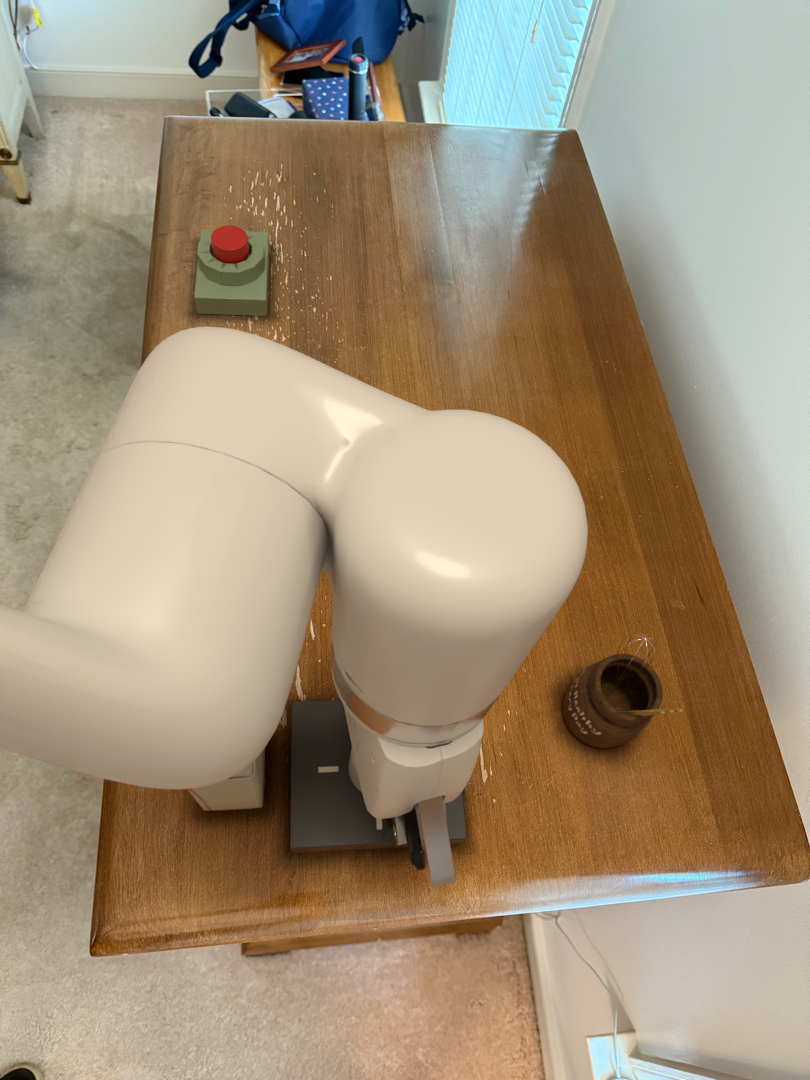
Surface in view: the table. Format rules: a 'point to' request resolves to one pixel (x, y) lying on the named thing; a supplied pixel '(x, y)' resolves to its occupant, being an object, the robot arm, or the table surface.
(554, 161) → the table surface
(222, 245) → the power button
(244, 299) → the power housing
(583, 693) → the utensil holder
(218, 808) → the cosmetic box
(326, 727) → the panel
